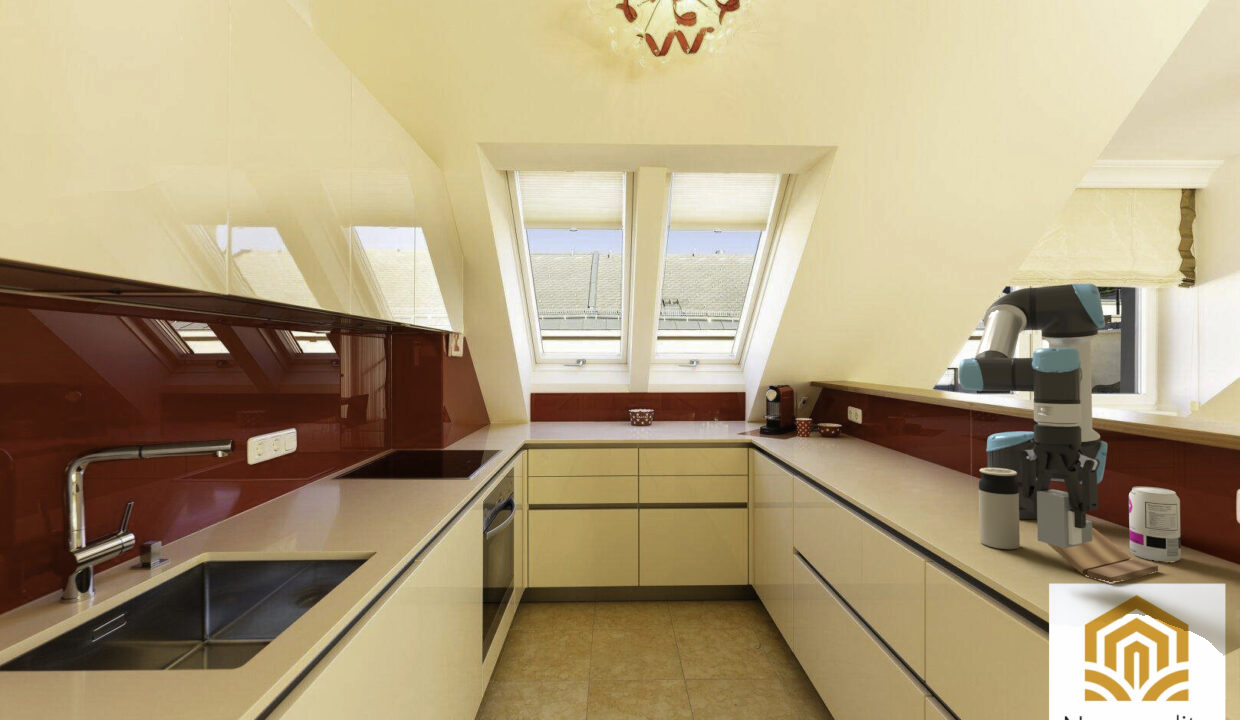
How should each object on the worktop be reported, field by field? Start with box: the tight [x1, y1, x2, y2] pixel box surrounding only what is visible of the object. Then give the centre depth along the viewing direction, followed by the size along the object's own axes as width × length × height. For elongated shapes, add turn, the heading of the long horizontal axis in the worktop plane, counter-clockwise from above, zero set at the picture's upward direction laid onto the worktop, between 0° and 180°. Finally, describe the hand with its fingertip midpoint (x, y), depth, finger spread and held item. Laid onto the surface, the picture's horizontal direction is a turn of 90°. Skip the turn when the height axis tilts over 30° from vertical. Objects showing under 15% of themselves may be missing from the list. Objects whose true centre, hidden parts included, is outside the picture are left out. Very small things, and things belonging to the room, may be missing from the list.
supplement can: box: [1128, 486, 1182, 563], centre depth 123 cm, size 8×8×15 cm
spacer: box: [1036, 488, 1093, 548], centre depth 111 cm, size 10×5×10 cm, turn 111°
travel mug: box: [978, 467, 1021, 551], centre depth 133 cm, size 8×8×18 cm
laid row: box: [1083, 558, 1159, 582], centre depth 114 cm, size 16×5×1 cm, turn 111°
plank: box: [1046, 526, 1132, 575], centre depth 120 cm, size 16×9×1 cm
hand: (1059, 538), depth 110 cm, fingers closed on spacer, 5 cm apart
